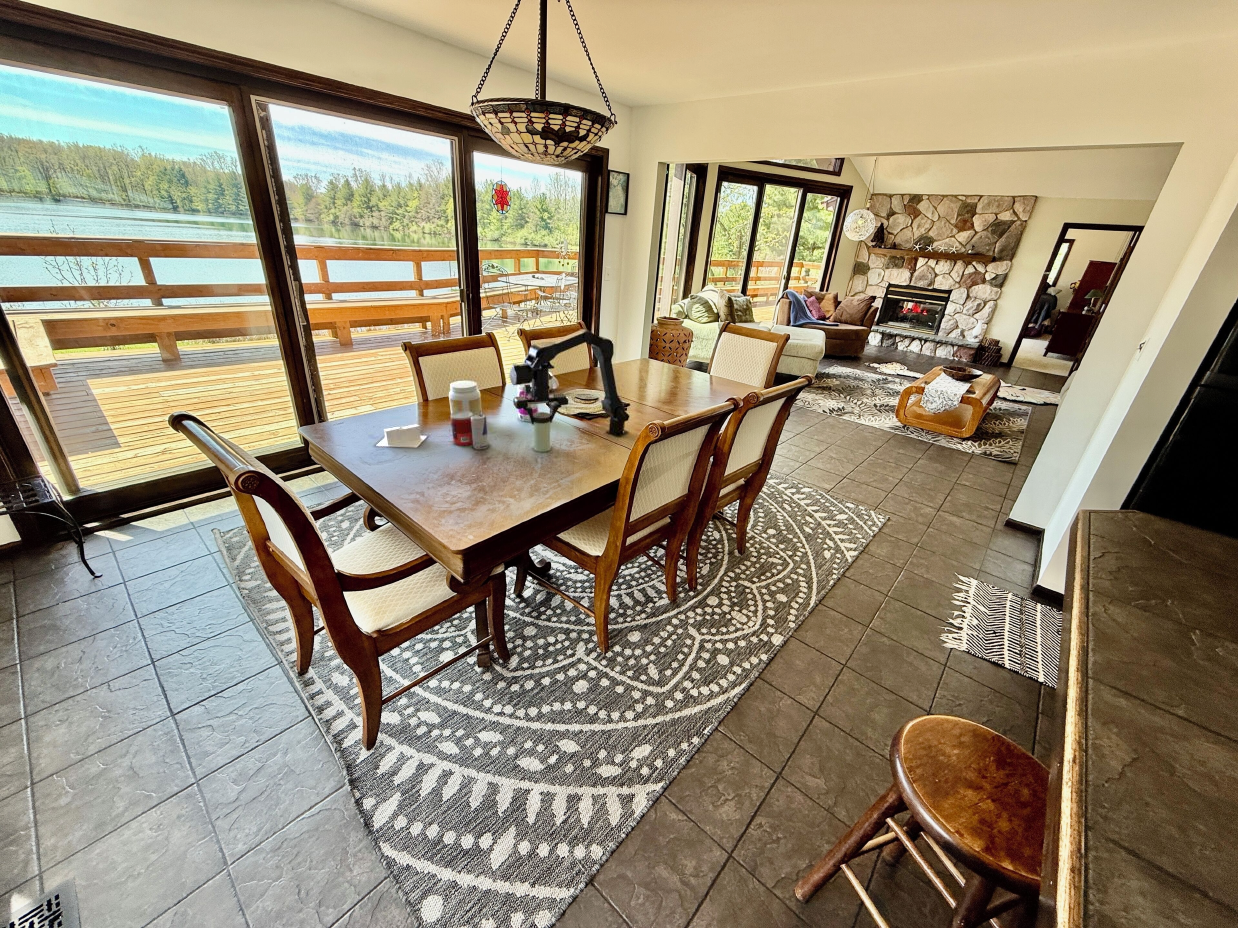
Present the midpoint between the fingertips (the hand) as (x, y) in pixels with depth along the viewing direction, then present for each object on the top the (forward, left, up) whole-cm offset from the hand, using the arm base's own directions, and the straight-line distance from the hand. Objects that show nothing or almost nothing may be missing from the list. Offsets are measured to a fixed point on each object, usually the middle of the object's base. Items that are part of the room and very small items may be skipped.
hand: (541, 423), depth 174 cm
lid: (0, 0, +3) cm, 3 cm away
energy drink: (+13, -18, -10) cm, 25 cm away
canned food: (+14, -26, -10) cm, 31 cm away
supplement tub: (+1, -40, -10) cm, 41 cm away
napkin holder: (+28, -44, -10) cm, 53 cm away
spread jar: (-56, -49, -10) cm, 75 cm away
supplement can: (-20, -26, -10) cm, 34 cm away
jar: (0, 0, -10) cm, 10 cm away
